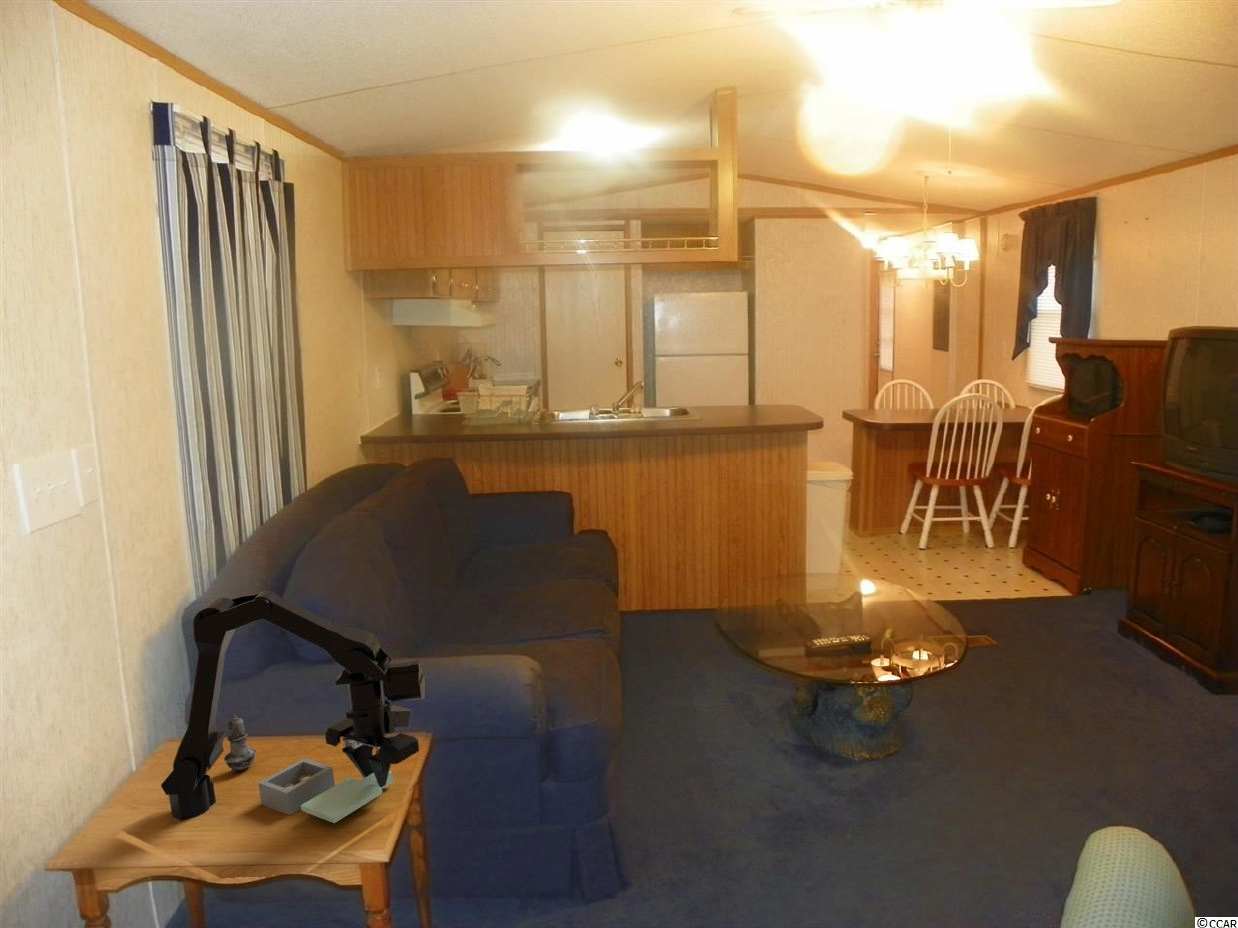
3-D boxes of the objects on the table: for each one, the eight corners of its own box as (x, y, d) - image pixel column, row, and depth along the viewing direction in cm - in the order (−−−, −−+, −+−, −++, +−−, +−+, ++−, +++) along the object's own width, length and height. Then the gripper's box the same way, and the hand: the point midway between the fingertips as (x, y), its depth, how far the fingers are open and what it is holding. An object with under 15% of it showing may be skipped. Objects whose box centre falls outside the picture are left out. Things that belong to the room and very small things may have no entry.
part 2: (306, 795, 166) (304, 781, 165) (298, 792, 167) (296, 778, 167) (317, 789, 168) (315, 775, 167) (309, 786, 169) (307, 772, 169)
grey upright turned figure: (264, 767, 180) (256, 710, 178) (238, 781, 175) (230, 723, 173) (246, 761, 183) (237, 705, 181) (220, 775, 178) (211, 717, 176)
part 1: (288, 806, 163) (286, 791, 162) (279, 803, 164) (277, 788, 164) (299, 799, 165) (297, 785, 164) (290, 796, 166) (288, 782, 165)
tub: (290, 819, 160) (286, 792, 159) (262, 808, 164) (258, 782, 163) (335, 792, 168) (332, 767, 167) (307, 782, 172) (304, 758, 172)
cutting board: (335, 828, 153) (333, 817, 152) (302, 815, 157) (300, 805, 157) (404, 785, 165) (402, 775, 165) (371, 774, 170) (370, 764, 170)
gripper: (436, 695, 165) (445, 775, 167) (366, 678, 175) (375, 753, 177) (390, 719, 155) (400, 804, 158) (318, 700, 166) (329, 780, 168)
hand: (376, 783), depth 166 cm, fingers closed on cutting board, 3 cm apart
